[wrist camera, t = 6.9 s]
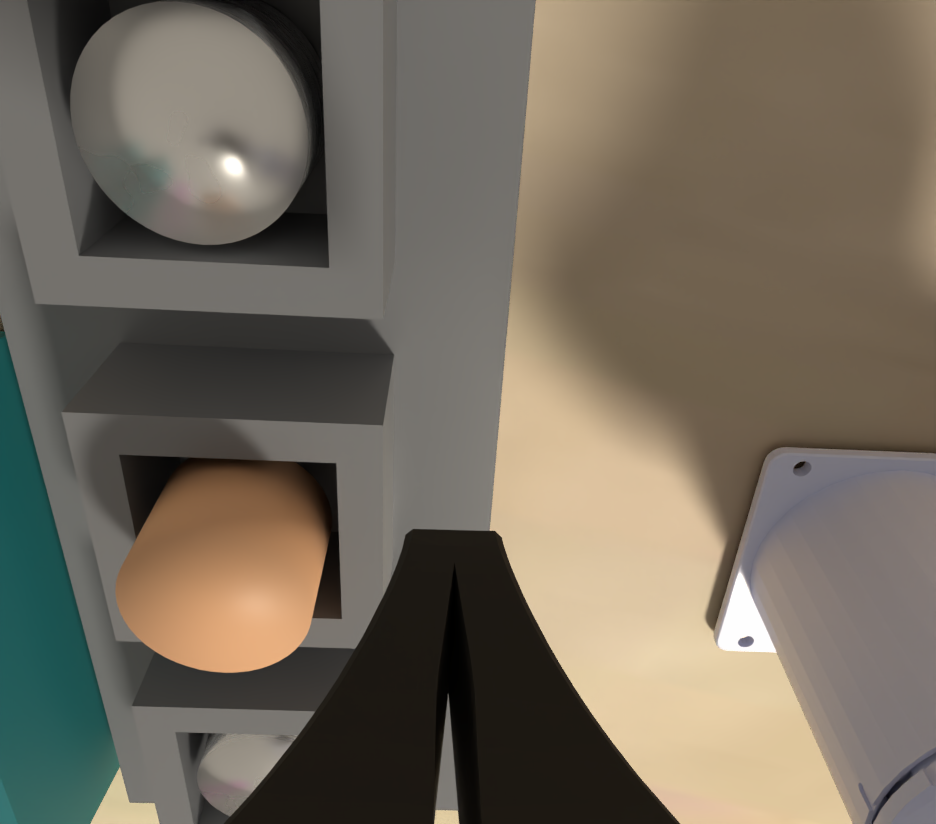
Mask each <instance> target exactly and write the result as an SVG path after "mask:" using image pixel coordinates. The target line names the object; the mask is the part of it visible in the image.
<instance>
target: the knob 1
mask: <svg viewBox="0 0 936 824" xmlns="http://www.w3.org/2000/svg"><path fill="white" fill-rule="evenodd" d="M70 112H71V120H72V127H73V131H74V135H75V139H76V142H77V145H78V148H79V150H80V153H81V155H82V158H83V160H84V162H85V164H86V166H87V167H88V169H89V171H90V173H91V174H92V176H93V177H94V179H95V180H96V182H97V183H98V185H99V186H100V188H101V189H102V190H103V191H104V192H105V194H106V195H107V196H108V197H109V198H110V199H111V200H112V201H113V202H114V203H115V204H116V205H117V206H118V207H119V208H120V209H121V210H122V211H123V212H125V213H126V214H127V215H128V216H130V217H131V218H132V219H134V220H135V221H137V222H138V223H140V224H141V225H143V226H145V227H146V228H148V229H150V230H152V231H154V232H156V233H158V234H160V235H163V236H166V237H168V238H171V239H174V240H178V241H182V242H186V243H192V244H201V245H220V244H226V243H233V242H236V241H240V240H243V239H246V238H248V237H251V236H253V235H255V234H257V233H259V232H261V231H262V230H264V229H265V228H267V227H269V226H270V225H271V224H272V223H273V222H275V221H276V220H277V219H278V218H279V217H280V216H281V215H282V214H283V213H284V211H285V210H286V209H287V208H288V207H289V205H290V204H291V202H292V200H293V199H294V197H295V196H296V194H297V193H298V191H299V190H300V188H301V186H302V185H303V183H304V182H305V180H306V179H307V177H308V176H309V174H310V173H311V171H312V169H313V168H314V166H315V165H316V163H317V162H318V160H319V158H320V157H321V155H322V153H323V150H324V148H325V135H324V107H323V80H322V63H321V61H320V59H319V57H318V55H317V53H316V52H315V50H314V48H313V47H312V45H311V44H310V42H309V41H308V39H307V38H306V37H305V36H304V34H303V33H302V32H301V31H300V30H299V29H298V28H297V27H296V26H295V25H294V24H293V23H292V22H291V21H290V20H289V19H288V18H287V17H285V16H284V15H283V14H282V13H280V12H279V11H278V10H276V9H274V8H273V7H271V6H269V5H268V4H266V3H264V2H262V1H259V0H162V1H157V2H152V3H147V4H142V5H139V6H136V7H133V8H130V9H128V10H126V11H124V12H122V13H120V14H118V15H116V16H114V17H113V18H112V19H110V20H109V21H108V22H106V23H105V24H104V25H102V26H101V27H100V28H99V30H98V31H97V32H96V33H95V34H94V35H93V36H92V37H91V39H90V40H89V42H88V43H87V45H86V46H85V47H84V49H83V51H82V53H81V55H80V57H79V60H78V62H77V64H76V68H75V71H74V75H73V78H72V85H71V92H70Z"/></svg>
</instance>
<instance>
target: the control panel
mask: <svg viewBox="0 0 936 824" xmlns="http://www.w3.org/2000/svg"><path fill="white" fill-rule="evenodd" d="M157 1H162V0H0V316H1V320H2V323H3V327H4V331H5V335H6V338H7V342H8V346H9V350H10V354H11V357H12V361H13V365H14V369H15V372H16V376H17V380H18V384H19V387H20V391H21V395H22V399H23V403H24V406H25V410H26V414H27V418H28V421H29V425H30V429H31V433H32V436H33V440H34V444H35V448H36V452H37V455H38V459H39V463H40V467H41V470H42V474H43V478H44V482H45V485H46V489H47V493H48V497H49V501H50V504H51V508H52V512H53V516H54V519H55V523H56V527H57V531H58V534H59V538H60V542H61V546H62V550H63V553H64V557H65V561H66V565H67V568H68V572H69V576H70V580H71V583H72V587H73V591H74V595H75V599H76V602H77V606H78V610H79V614H80V617H81V621H82V625H83V629H84V632H85V636H86V640H87V644H88V648H89V651H90V655H91V659H92V663H93V666H94V670H95V674H96V678H97V681H98V685H99V689H100V693H101V697H102V700H103V704H104V708H105V712H106V715H107V719H108V723H109V727H110V731H111V734H112V738H113V742H114V746H115V749H116V753H117V757H118V761H119V764H120V768H121V772H122V776H123V780H124V783H125V787H126V791H127V795H128V798H129V802H130V803H155V806H156V810H157V814H158V819H159V823H160V824H224V823H225V822H226V820H227V819H228V818H229V817H230V816H228V815H226V814H224V813H222V812H221V811H219V810H218V809H216V808H215V807H214V806H212V805H211V804H210V803H209V802H208V801H207V800H206V799H205V797H204V796H203V795H202V793H201V791H200V789H199V786H198V783H197V772H198V768H199V765H200V762H201V759H202V756H203V753H204V749H205V746H206V743H207V740H208V737H209V734H210V733H225V734H262V735H299V734H300V732H301V731H302V729H303V728H304V727H305V725H306V724H307V722H308V721H309V720H310V718H311V717H312V716H313V714H314V713H315V711H316V710H317V709H318V707H319V706H320V704H321V703H322V701H323V700H324V698H325V697H326V695H327V694H328V692H329V691H330V689H331V688H332V686H333V685H334V683H335V682H336V680H337V679H338V677H339V675H340V674H341V672H342V670H343V669H344V667H345V665H346V664H347V662H348V660H349V659H350V657H351V655H352V653H353V652H354V650H355V648H356V647H357V645H358V643H359V642H360V640H361V638H362V637H363V635H364V633H365V631H366V629H367V627H368V625H369V623H370V621H371V619H372V617H373V615H374V613H375V611H376V610H377V608H378V606H379V604H380V602H381V600H382V598H383V596H384V594H385V591H386V589H387V587H388V584H389V582H390V580H391V578H392V575H393V573H394V570H395V568H396V565H397V563H398V560H399V557H400V554H401V551H402V547H403V544H404V539H405V535H406V534H407V533H408V532H410V531H411V530H412V529H437V530H476V531H490V520H491V508H492V496H493V485H494V473H495V462H496V450H497V439H498V427H499V416H500V404H501V393H502V381H503V370H504V358H505V347H506V335H507V324H508V312H509V301H510V289H511V278H512V266H513V255H514V243H515V232H516V220H517V209H518V197H519V185H520V174H521V162H522V151H523V139H524V128H525V116H526V105H527V93H528V82H529V70H530V59H531V47H532V36H533V24H534V13H535V1H536V0H259V1H262V2H264V3H266V4H268V5H269V6H271V7H273V8H274V9H276V10H278V11H279V12H280V13H282V14H283V15H284V16H285V17H287V18H288V19H289V20H290V21H291V22H292V23H293V24H294V25H295V26H296V27H297V28H298V29H299V30H300V31H301V32H302V33H303V34H304V36H305V37H306V38H307V39H308V41H309V42H310V44H311V45H312V47H313V48H314V50H315V52H316V53H317V55H318V57H319V59H320V61H321V63H322V80H323V107H324V135H325V148H324V150H323V153H322V155H321V157H320V158H319V160H318V162H317V163H316V165H315V166H314V168H313V169H312V171H311V173H310V174H309V176H308V177H307V179H306V180H305V182H304V183H303V185H302V186H301V188H300V190H299V191H298V193H297V194H296V196H295V197H294V199H293V200H292V202H291V204H290V205H289V207H288V208H287V209H286V210H285V211H284V213H283V214H282V215H281V216H280V217H279V218H278V219H277V220H276V221H275V222H273V223H272V224H271V225H270V226H269V227H267V228H265V229H264V230H262V231H261V232H259V233H257V234H255V235H253V236H251V237H248V238H246V239H243V240H240V241H236V242H233V243H226V244H220V245H201V244H192V243H186V242H182V241H178V240H174V239H171V238H168V237H166V236H163V235H160V234H158V233H156V232H154V231H152V230H150V229H148V228H146V227H145V226H143V225H141V224H140V223H138V222H137V221H135V220H134V219H132V218H131V217H130V216H128V215H127V214H126V213H125V212H123V211H122V210H121V209H120V208H119V207H118V206H117V205H116V204H115V203H114V202H113V201H112V200H111V199H110V198H109V197H108V196H107V195H106V194H105V192H104V191H103V190H102V189H101V188H100V186H99V185H98V183H97V182H96V180H95V179H94V177H93V176H92V174H91V173H90V171H89V169H88V167H87V166H86V164H85V162H84V160H83V158H82V155H81V153H80V150H79V148H78V145H77V142H76V139H75V135H74V131H73V127H72V120H71V112H70V92H71V85H72V78H73V75H74V71H75V68H76V64H77V62H78V60H79V57H80V55H81V53H82V51H83V49H84V47H85V46H86V45H87V43H88V42H89V40H90V39H91V37H92V36H93V35H94V34H95V33H96V32H97V31H98V30H99V28H100V27H101V26H102V25H104V24H105V23H106V22H108V21H109V20H110V19H112V18H113V17H114V16H116V15H118V14H120V13H122V12H124V11H126V10H128V9H130V8H133V7H136V6H139V5H142V4H147V3H152V2H157ZM190 457H192V458H218V459H243V460H268V461H293V462H296V463H297V464H299V465H300V466H301V467H303V468H304V469H305V470H306V471H307V472H309V473H310V474H311V475H312V476H313V477H314V478H315V480H316V481H317V482H318V483H319V484H320V486H321V488H322V489H323V491H324V492H325V494H326V497H327V499H328V501H329V504H330V508H331V513H332V528H331V533H330V538H329V542H328V547H327V552H326V556H325V561H324V565H323V570H322V574H321V579H320V584H319V588H318V593H317V597H316V602H315V607H314V611H313V616H312V620H311V625H310V628H309V631H308V633H307V635H306V637H305V638H304V640H303V642H302V643H301V644H300V645H299V646H298V647H297V649H296V650H294V651H293V652H292V653H291V654H290V655H288V656H287V657H285V658H284V659H282V660H280V661H279V662H276V663H274V664H272V665H270V666H267V667H264V668H261V669H256V670H252V671H246V672H235V673H223V672H211V671H205V670H199V669H195V668H192V667H188V666H185V665H182V664H179V663H177V662H174V661H172V660H170V659H168V658H166V657H164V656H162V655H160V654H159V653H157V652H155V651H154V650H152V649H151V648H150V647H148V646H147V645H145V644H144V643H143V642H142V641H141V640H140V639H139V638H138V637H137V636H136V635H135V634H134V633H133V632H132V631H131V630H130V628H129V627H128V625H127V624H126V623H125V621H124V619H123V617H122V615H121V613H120V611H119V608H118V605H117V601H116V594H115V590H116V580H117V576H118V573H119V571H120V569H121V566H122V564H123V563H124V561H125V559H126V557H127V555H128V553H129V551H130V550H131V548H132V546H133V544H134V542H135V540H136V539H137V537H138V535H139V533H140V531H141V529H142V527H143V526H144V524H145V522H146V520H147V518H148V516H149V514H150V513H151V511H152V509H153V507H154V505H155V503H156V502H157V500H158V498H159V496H160V494H161V492H162V490H163V489H164V487H165V485H166V483H167V481H168V479H169V478H170V476H171V475H172V473H173V472H174V470H175V469H176V468H177V467H178V466H179V465H180V464H181V463H183V462H184V461H185V460H187V459H188V458H190ZM436 810H458V803H457V791H456V779H455V767H454V755H453V743H452V731H451V719H450V707H449V695H448V701H447V710H446V719H445V728H444V738H443V747H442V756H441V765H440V774H439V783H438V792H437V801H436Z"/></svg>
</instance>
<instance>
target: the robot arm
mask: <svg viewBox="0 0 936 824" xmlns="http://www.w3.org/2000/svg"><path fill="white" fill-rule="evenodd" d="M803 461H806V463H805V464H804V465H803V466H802V467H800V468H796V469H794V466H795V465H796V464H798V463H799V462H803ZM744 636H747V637H745V638H742V637H744ZM714 640H715V642H716V645H717V646H718V647H719V648H720V649H722V650H727V651H753V652H777V655H778V657H779V659H780V661H781V664H782V666H783V668H784V670H785V673H786V675H787V677H788V679H789V682H790V684H791V686H792V688H793V691H794V693H795V695H796V697H797V700H798V702H799V704H800V706H801V708H802V711H803V713H804V715H805V717H806V720H807V722H808V724H809V726H810V729H811V731H812V733H813V735H814V738H815V740H816V742H817V744H818V747H819V749H820V751H821V753H822V756H823V758H824V760H825V762H826V765H827V767H828V769H829V771H830V773H831V776H832V778H833V780H834V782H835V785H836V787H837V789H838V791H839V794H840V796H841V798H842V800H843V803H844V805H845V807H846V809H847V812H848V814H849V816H850V818H851V821H852V823H853V824H936V453H916V452H891V451H867V450H843V449H818V448H794V447H783V448H777V449H775V450H773V451H771V452H770V453H769V454H768V455H767V456H766V458H765V460H764V463H763V467H762V470H761V473H760V477H759V480H758V484H757V487H756V490H755V494H754V497H753V501H752V504H751V507H750V511H749V514H748V518H747V521H746V524H745V528H744V531H743V535H742V538H741V541H740V545H739V548H738V552H737V555H736V558H735V562H734V565H733V569H732V572H731V575H730V579H729V582H728V586H727V589H726V592H725V596H724V599H723V603H722V606H721V609H720V613H719V616H718V620H717V623H716V626H715V630H714ZM448 695H449V707H450V719H451V731H452V743H453V755H454V767H455V779H456V791H457V803H458V815H459V824H680V823H679V822H678V821H677V820H676V818H675V817H674V816H673V815H672V814H671V813H670V812H669V810H668V809H667V808H666V807H665V806H664V805H663V804H662V802H661V801H660V800H659V799H658V798H657V797H656V796H655V794H654V793H653V792H652V791H651V790H650V789H649V788H648V786H647V785H646V784H645V783H644V782H643V781H642V780H641V778H640V777H639V776H638V775H637V774H636V772H635V771H634V770H633V768H632V767H631V766H630V765H629V763H628V762H627V761H626V759H625V758H624V757H623V756H622V754H621V753H620V752H619V750H618V749H617V748H616V747H615V745H614V744H613V743H612V741H611V740H610V739H609V737H608V736H607V734H606V733H605V732H604V730H603V729H602V728H601V726H600V725H599V723H598V722H597V721H596V719H595V718H594V716H593V715H592V714H591V712H590V711H589V709H588V708H587V706H586V705H585V703H584V702H583V700H582V699H581V697H580V696H579V694H578V693H577V691H576V690H575V688H574V686H573V685H572V683H571V682H570V680H569V678H568V677H567V675H566V673H565V672H564V670H563V669H562V667H561V665H560V664H559V662H558V660H557V659H556V657H555V655H554V653H553V652H552V650H551V648H550V646H549V645H548V643H547V641H546V639H545V637H544V635H543V633H542V631H541V630H540V628H539V626H538V624H537V622H536V620H535V618H534V616H533V614H532V612H531V610H530V608H529V606H528V604H527V602H526V600H525V598H524V596H523V594H522V591H521V589H520V587H519V585H518V582H517V580H516V578H515V575H514V573H513V571H512V568H511V566H510V563H509V560H508V557H507V554H506V551H505V548H504V545H503V541H502V537H501V536H499V535H498V534H497V533H496V532H495V531H476V530H437V529H412V530H411V531H410V532H408V533H407V534H406V535H405V539H404V544H403V547H402V551H401V554H400V557H399V560H398V563H397V565H396V568H395V570H394V573H393V575H392V578H391V580H390V582H389V584H388V587H387V589H386V591H385V594H384V596H383V598H382V600H381V602H380V604H379V606H378V608H377V610H376V611H375V613H374V615H373V617H372V619H371V621H370V623H369V625H368V627H367V629H366V631H365V633H364V635H363V637H362V638H361V640H360V642H359V643H358V645H357V647H356V648H355V650H354V652H353V653H352V655H351V657H350V659H349V660H348V662H347V664H346V665H345V667H344V669H343V670H342V672H341V674H340V675H339V677H338V679H337V680H336V682H335V683H334V685H333V686H332V688H331V689H330V691H329V692H328V694H327V695H326V697H325V698H324V700H323V701H322V703H321V704H320V706H319V707H318V709H317V710H316V711H315V713H314V714H313V716H312V717H311V718H310V720H309V721H308V722H307V724H306V725H305V727H304V728H303V729H302V731H301V732H300V734H299V735H298V736H297V738H296V739H295V740H294V741H293V743H292V744H291V745H290V746H289V748H288V749H287V750H286V751H285V753H284V754H283V755H282V757H281V758H280V759H279V760H278V762H277V763H276V764H275V765H274V767H273V768H272V769H271V770H270V772H269V773H268V774H267V775H266V777H265V778H264V779H263V780H262V781H261V783H260V784H259V785H258V786H257V787H256V788H255V790H254V791H253V792H252V793H251V794H250V795H249V797H248V798H247V799H246V800H245V801H244V802H243V803H242V804H241V805H240V806H239V808H238V809H237V810H236V811H235V812H234V813H233V814H232V815H231V816H230V817H229V818H228V819H227V820H226V822H225V823H224V824H434V819H435V810H436V801H437V792H438V783H439V774H440V765H441V756H442V747H443V738H444V728H445V719H446V710H447V701H448Z"/></svg>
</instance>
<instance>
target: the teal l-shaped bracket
mask: <svg viewBox="0 0 936 824" xmlns="http://www.w3.org/2000/svg"><path fill="white" fill-rule="evenodd" d="M119 767H120V765H119V761H118V757H117V753H116V749H115V746H114V742H113V738H112V734H111V731H110V727H109V723H108V719H107V715H106V712H105V708H104V704H103V700H102V697H101V693H100V689H99V685H98V681H97V678H96V674H95V670H94V666H93V663H92V659H91V655H90V651H89V648H88V644H87V640H86V636H85V632H84V629H83V625H82V621H81V617H80V614H79V610H78V606H77V602H76V599H75V595H74V591H73V587H72V583H71V580H70V576H69V572H68V568H67V565H66V561H65V557H64V553H63V550H62V546H61V542H60V538H59V534H58V531H57V527H56V523H55V519H54V516H53V512H52V508H51V504H50V501H49V497H48V493H47V489H46V485H45V482H44V478H43V474H42V470H41V467H40V463H39V459H38V455H37V452H36V448H35V444H34V440H33V436H32V433H31V429H30V425H29V421H28V418H27V414H26V410H25V406H24V403H23V399H22V395H21V391H20V387H19V384H18V380H17V376H16V372H15V369H14V365H13V361H12V357H11V354H10V350H9V346H8V342H7V338H6V335H5V332H2V331H0V824H90V823H91V821H92V819H93V817H94V815H95V813H96V811H97V809H98V808H99V806H100V804H101V802H102V800H103V798H104V796H105V794H106V792H107V790H108V788H109V786H110V784H111V782H112V780H113V779H114V777H115V775H116V773H117V771H118V769H119Z"/></svg>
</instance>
